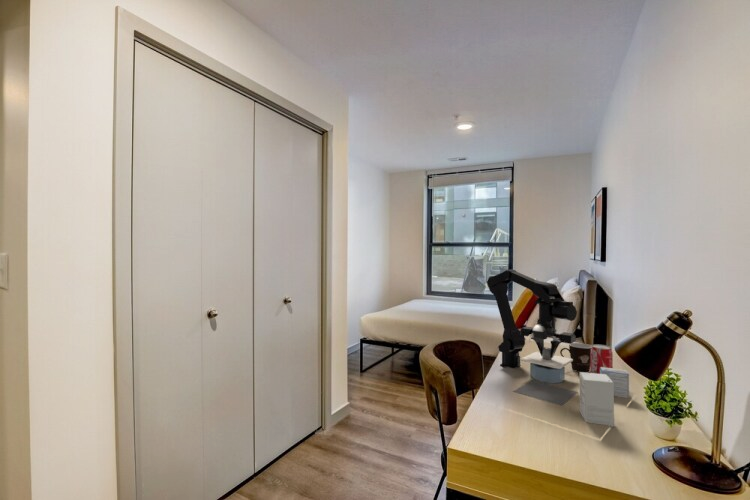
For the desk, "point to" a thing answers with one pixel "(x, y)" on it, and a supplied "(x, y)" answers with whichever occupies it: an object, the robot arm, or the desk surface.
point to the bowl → (547, 373)
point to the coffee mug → (579, 356)
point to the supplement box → (597, 398)
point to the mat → (546, 392)
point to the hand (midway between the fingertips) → (546, 356)
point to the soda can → (600, 358)
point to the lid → (547, 359)
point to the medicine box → (618, 380)
